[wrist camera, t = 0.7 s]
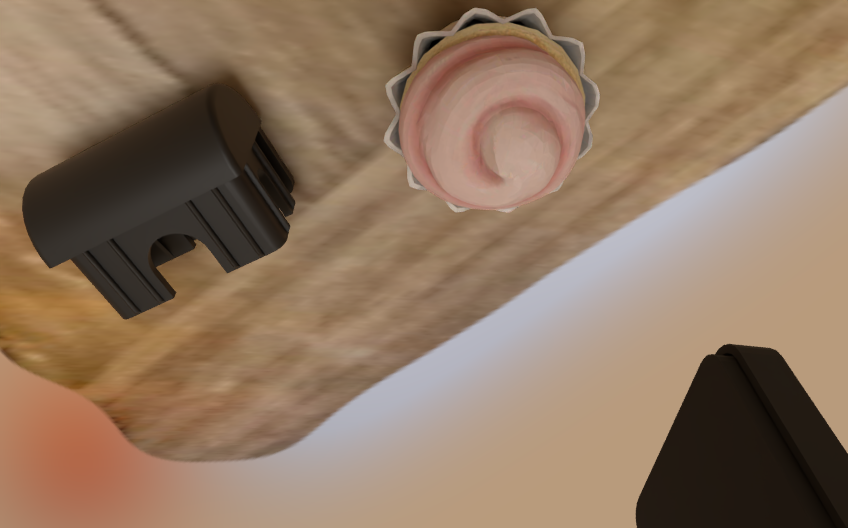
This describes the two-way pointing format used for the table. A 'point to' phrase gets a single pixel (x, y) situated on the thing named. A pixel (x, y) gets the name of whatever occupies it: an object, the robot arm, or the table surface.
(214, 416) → the table surface
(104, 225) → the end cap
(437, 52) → the cupcake
